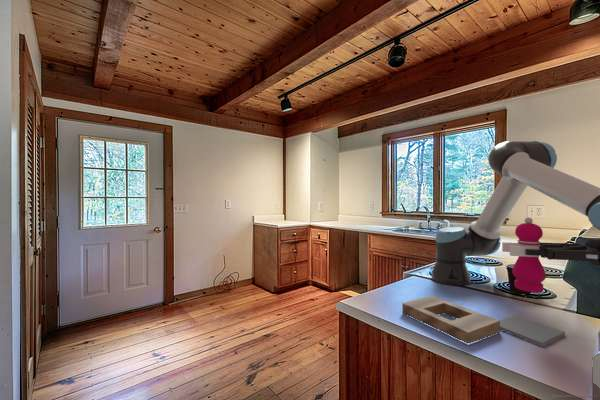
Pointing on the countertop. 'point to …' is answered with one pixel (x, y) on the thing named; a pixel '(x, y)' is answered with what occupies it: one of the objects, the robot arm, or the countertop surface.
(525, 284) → the pepper mill
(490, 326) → the frame
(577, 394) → the countertop surface
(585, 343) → the countertop surface
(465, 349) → the countertop surface
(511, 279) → the coffee mug
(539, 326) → the grey mat
